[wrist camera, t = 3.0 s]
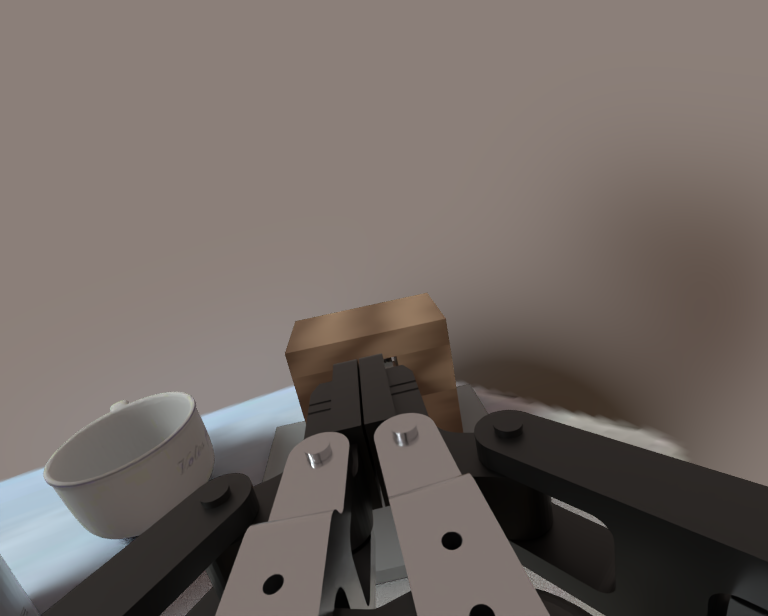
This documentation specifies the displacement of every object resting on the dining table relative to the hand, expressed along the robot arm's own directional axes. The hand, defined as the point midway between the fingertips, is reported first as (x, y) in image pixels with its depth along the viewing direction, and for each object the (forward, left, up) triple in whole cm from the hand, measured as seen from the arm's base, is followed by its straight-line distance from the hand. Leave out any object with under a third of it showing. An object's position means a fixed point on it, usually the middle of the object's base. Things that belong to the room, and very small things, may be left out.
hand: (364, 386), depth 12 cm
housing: (0, +20, -17) cm, 26 cm away
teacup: (-21, +20, -17) cm, 34 cm away
